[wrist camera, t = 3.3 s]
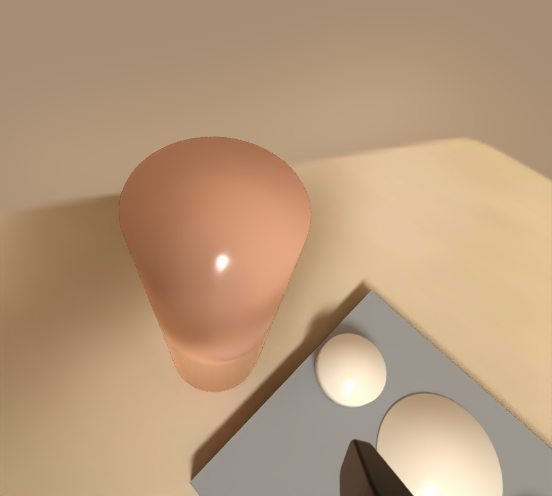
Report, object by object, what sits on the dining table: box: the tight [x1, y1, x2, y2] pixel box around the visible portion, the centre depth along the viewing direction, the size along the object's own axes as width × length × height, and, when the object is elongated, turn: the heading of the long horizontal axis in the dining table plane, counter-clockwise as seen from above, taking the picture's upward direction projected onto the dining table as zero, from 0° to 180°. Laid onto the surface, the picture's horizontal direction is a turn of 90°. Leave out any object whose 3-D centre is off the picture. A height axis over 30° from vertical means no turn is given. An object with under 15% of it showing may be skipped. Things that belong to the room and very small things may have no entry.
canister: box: [119, 137, 311, 392], centre depth 15 cm, size 5×5×13 cm
